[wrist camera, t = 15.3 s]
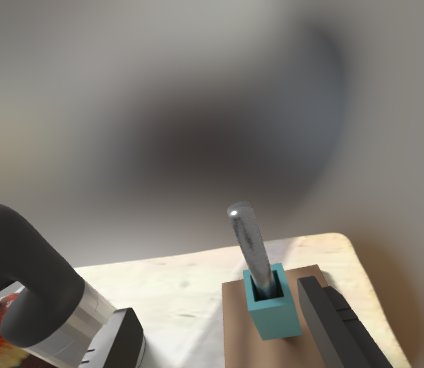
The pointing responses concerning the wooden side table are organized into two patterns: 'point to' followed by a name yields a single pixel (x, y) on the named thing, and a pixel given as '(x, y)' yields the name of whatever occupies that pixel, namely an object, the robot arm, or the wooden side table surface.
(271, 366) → the stand board
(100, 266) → the wooden side table surface
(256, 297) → the sleeve
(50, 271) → the robot arm
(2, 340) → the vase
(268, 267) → the pipe
